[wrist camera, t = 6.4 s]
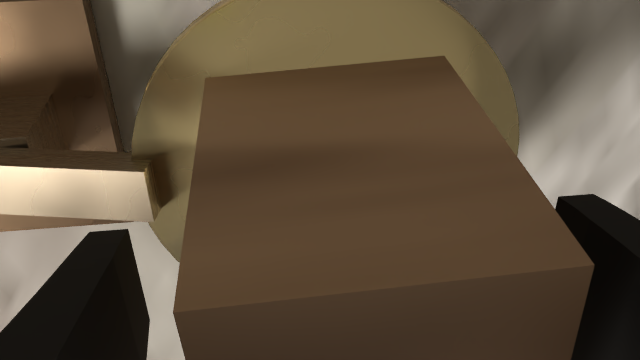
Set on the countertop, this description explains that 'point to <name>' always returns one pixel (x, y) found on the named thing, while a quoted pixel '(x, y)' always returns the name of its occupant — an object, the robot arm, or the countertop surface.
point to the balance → (186, 97)
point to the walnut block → (369, 225)
